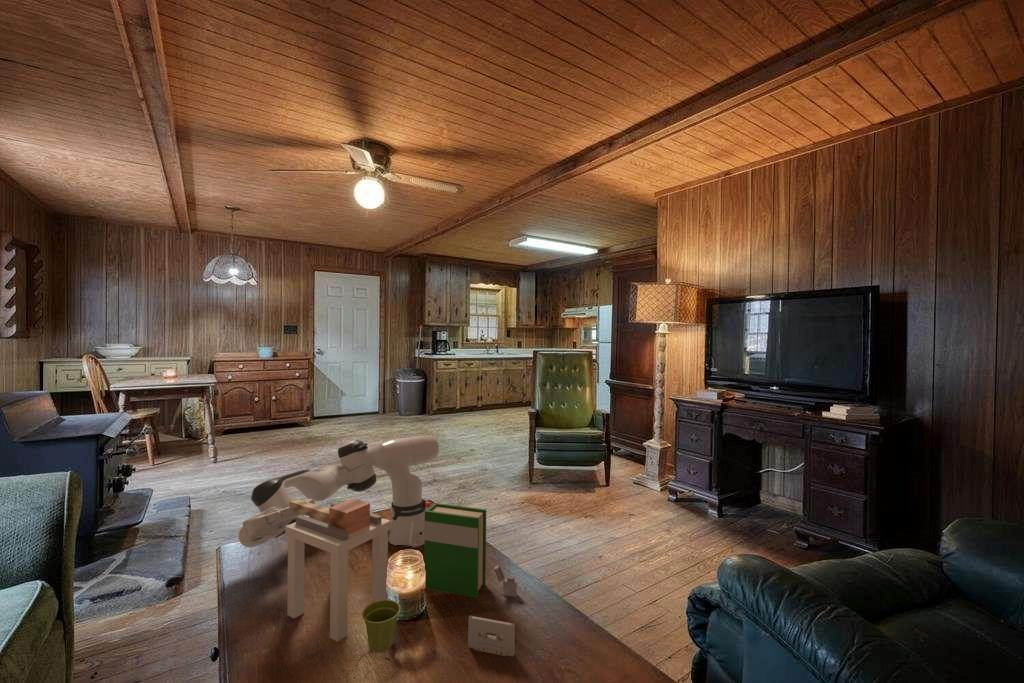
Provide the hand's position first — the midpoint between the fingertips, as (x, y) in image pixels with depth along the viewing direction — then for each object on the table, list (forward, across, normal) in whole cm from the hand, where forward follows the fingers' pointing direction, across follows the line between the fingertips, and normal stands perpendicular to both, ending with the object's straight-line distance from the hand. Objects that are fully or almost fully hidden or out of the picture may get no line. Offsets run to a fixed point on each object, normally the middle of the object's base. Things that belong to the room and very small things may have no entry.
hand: (296, 508), depth 135 cm
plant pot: (+22, +3, -42) cm, 48 cm away
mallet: (+11, 0, -7) cm, 13 cm away
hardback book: (+22, -27, -42) cm, 55 cm away
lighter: (+35, -32, -50) cm, 69 cm away
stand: (+4, 0, -32) cm, 32 cm away
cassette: (+43, -9, -55) cm, 70 cm away
